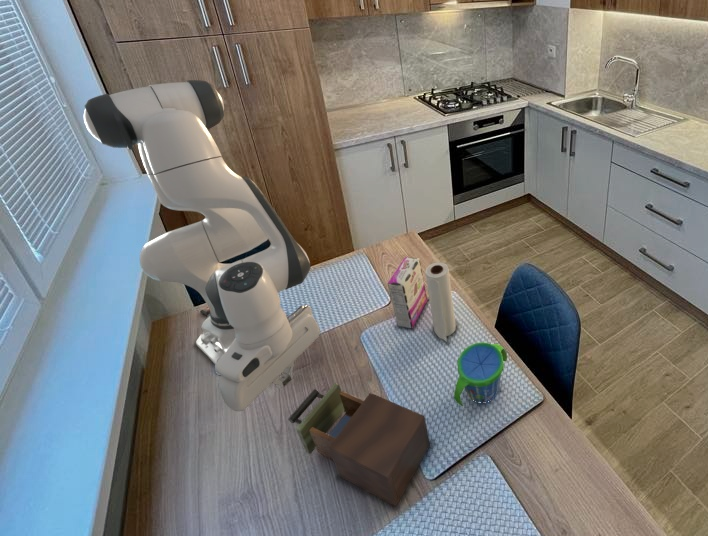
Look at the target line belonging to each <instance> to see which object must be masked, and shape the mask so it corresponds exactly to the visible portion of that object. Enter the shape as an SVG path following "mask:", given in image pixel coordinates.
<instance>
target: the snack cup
mask: <svg viewBox="0 0 708 536" xmlns="http://www.w3.org/2000/svg"><path fill="white" fill-rule="evenodd" d="M507 361H508V354H507V350H506V348H504V347H503V346H502V345H500V344H499V343H493V344H492V343H489V342H476V343H473V344H470V345H469V346H467V347H466V348H464V349H463V350H462V352H461V353H460V355H459V357H458V358H457V372H458V379H457V380H456V383H455V387H454V392H453V400H454V401H455V402H456V403H457V404H458V405H459V406H460V407H464V404H463V402H462V399H461V395H462V393H463V391H464V389H465V390H466V393H467V396H468V397H469V399H470V400H471V401H472V402H474V403H476V404H482V405H483V404H484V403H483V402H486V403H485V404H490V402H491V401H494V400H495V398H496V396H497V395H498V394H499V389H500V385H501V378H502V373H503V371H504V368H505V364H504V362H507ZM473 400H474V401H473ZM490 400H491V401H490ZM475 401H476V402H475ZM488 401H489V402H488ZM478 402H481V403H478Z"/></svg>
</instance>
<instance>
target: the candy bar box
mask: <svg viewBox="0 0 708 536" xmlns="http://www.w3.org/2000/svg"><path fill="white" fill-rule="evenodd" d="M422 269H423V268H422V263H421V258H419V257H409V256H404V258H402V260H401V262H400V263H399V265H398V267H397V268H396V270H395V271H394V273H393V274H392V275H391V277H390V279H389V280H388V282H387V287H388V291H389V295H390V300H391V303H392V308H393V313H394V317H395V320H396V325H397V327H399V328H405V329H413V328H414V327H415V325H416V323H417V321H418V319H419V317H420V315H421V313H422V311H423V309H424V308H425V306H426V303H427V302H428V297H427V292H426V285H425V280H424V275H423V274H424V273H423V270H422Z"/></svg>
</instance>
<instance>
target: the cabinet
mask: <svg viewBox="0 0 708 536" xmlns="http://www.w3.org/2000/svg"><path fill="white" fill-rule="evenodd" d="M430 446H431V442H430V436H429V433H428V427H427V422H426V416H425V415H423V414H421V413H419V412H416V411H414V410H412V409H409V408H407V407H404V406H402V405H400V404H398V403H395V402H393V401H391V400H388V399H386V398H384V397H382V396H379V395H377V394H375V393H373V392H369V394H368V395H367V396H366V397H365V399H363V403H362V404H361V405H360V407H359V408H358V409H357V411H356V412H355V413H354V415H353V416H352V417H351V419H350V420H349V421H348V422H347V424H346V425H345V426H344V428H343V429H342V430H341V432H340V433H339V434H338V436H337V437H336V438H335V440H334V441H333V442H332V444H331V445H330V446H329V450H330V452H331V455H332V458H333V460H332V461H333V462H334V465H335V468H336V470H337V473H338V476H339V477H340V478H342V479H344V480H346V481H347V482H349V483H351V484H353V485H355V486H356V487H358V488H360V489H362V490H364V491H366V492H368V493H369V494H371V495H373V496H375V497H377V498H378V499H380V500H382V501H384V502H386V503H388V504H390V505H391V506H394V507H395V508H396V507H397V506H398V504H399V502H400V500H401V499H402V496H403V495H404V493H405V491H406V490H407V488H408V486H409V484H410V482H411V480H412V479H413V477H414V475H415V473H416V471H417V469H418V468H419V466H420V464H421V462H422V461H423V458H424V456H425V455H426V453H427V451H428V450H429V448H430Z"/></svg>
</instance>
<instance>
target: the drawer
mask: <svg viewBox="0 0 708 536" xmlns="http://www.w3.org/2000/svg"><path fill="white" fill-rule="evenodd" d="M317 398H319V399H320V400H319V401H318V402H317V404H316V405H314V407H313V408H312V409H311V410H310V412H308V414H307V415H306V416H305V418H304V419H303V420H301V419H300V417H301V416H302V415H303V414H304V413H305V411H306V410H307V409H308V408H309V407H310V406H311V405H312V404H313V402H314V401H315V400H316V399H317ZM363 401H364V399H361V398H360V397H359V398H358V397H357V396H354V395H352V394H350V393H347V392H345V391H342V389H341V387H340V384H338V383H336V382H335V383H333V385H332V386H331V387H330V388H329V389H328V390H327V392H326V393H325V394H322V393H320V392H319V390H318V389H315V388H314V389H313V390H312V391H311V392H310V393H309V395H307V396H306V398H305V399H304V400H303V401H302V402H301V403H300V405H298V407H297V408H296V409H295V410H294V411H293V413H291V414H290V416H288V421H289V422H290V423H291V424H293V425H294V424H297V425H298V426H297V427H296V428H295V429H296V432H297V434H298V436H299V440H300V441H301V444H302V446H303V448H304V450H305V452H306V453H307V454H312V452H313V451H314V450H315V449H316V451H317V453H319V454H321V455H323V456H325V457H326V458H328V459H330V460H332V461H334V460H333V458H332V455H331V452H330V450H329V446H330V445H331V444H332V442H333V441H334V440H335V438H333V437H331V436H329V434H330V432H329V430H330V429H331V428H332V427H333V425H335V426H336V425H337V424H338V422H337V420H338V419H339V418H340V416H341V415H342V414H343V413H344V412H345V413H344V414H343V416H344V415H347V416H349V417H352V416H353V415H354V413H355V412H356V411H357V409H358V408H359V407H360V405H361V404H362V403H363ZM341 419H342V417H341V418H340V419H339V421H340V420H341ZM336 422H337V423H336ZM335 423H336V424H335ZM333 429H334V427H333ZM333 429H332V430H333ZM328 432H329V434H328Z"/></svg>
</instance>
